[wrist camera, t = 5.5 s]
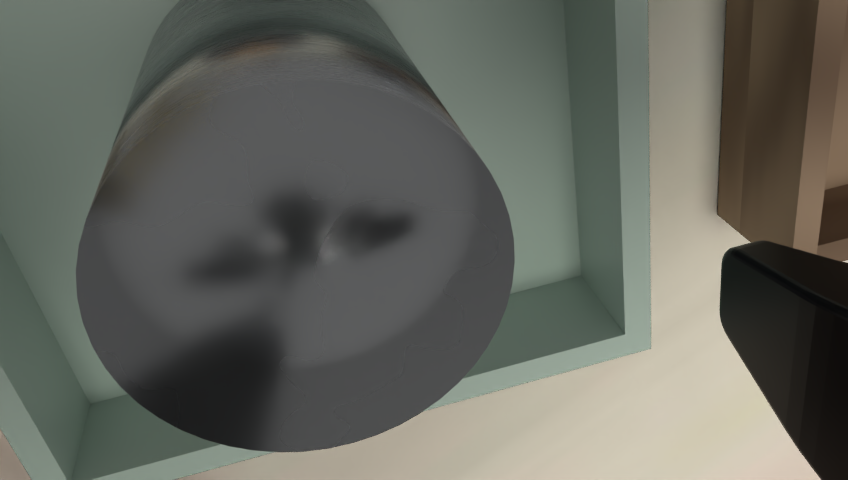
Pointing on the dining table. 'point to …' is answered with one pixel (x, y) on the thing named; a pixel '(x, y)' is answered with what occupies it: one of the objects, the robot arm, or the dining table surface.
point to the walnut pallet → (786, 124)
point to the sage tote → (463, 99)
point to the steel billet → (290, 231)
